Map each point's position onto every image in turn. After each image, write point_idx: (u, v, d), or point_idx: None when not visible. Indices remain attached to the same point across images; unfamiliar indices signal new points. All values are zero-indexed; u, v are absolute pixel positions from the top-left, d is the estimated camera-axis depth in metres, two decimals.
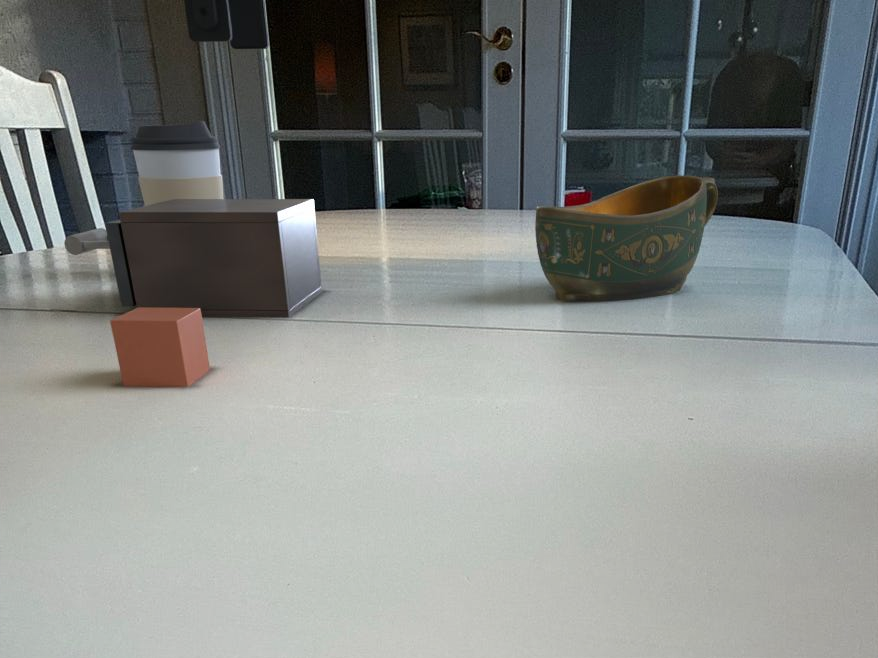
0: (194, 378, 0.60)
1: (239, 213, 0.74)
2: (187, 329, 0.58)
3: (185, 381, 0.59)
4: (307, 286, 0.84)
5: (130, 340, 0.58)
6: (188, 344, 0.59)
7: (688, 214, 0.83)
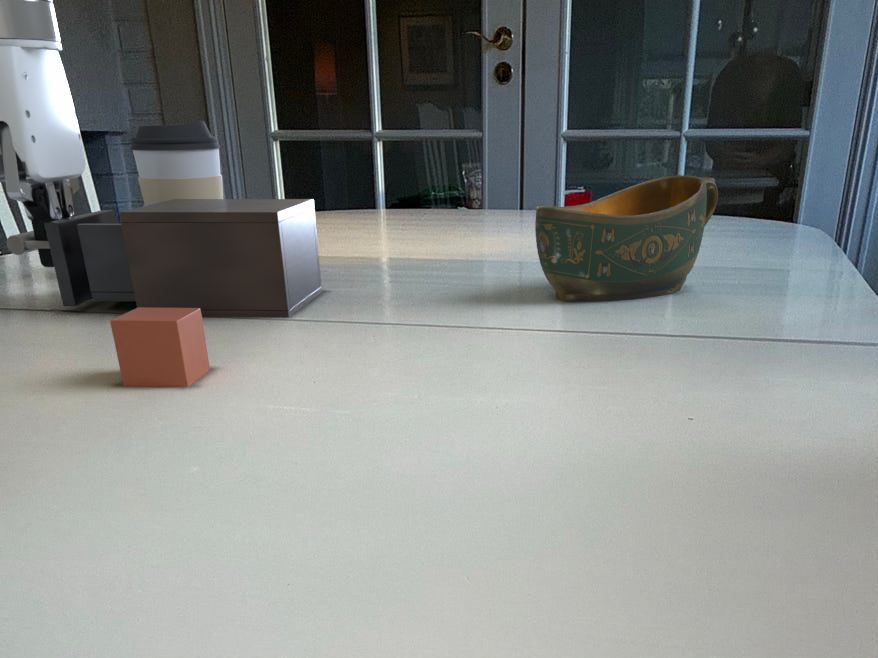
0: (194, 378, 0.60)
1: (239, 213, 0.74)
2: (187, 329, 0.58)
3: (185, 381, 0.59)
4: (307, 286, 0.84)
5: (130, 340, 0.58)
6: (188, 344, 0.59)
7: (688, 214, 0.83)
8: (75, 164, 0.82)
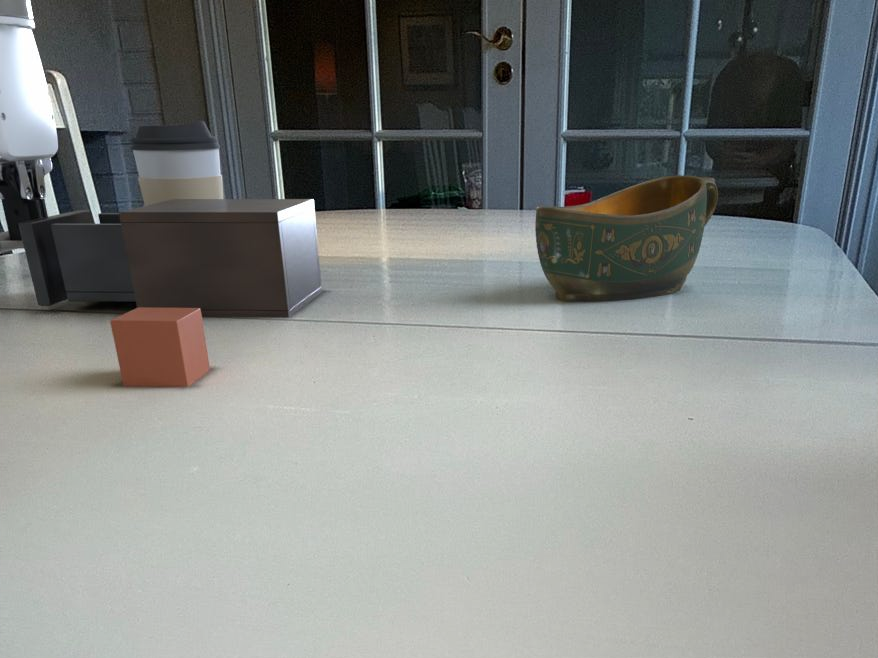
0: (194, 378, 0.60)
1: (239, 213, 0.74)
2: (187, 329, 0.58)
3: (185, 381, 0.59)
4: (307, 286, 0.84)
5: (130, 340, 0.58)
6: (188, 344, 0.59)
7: (688, 214, 0.83)
8: (47, 144, 0.81)
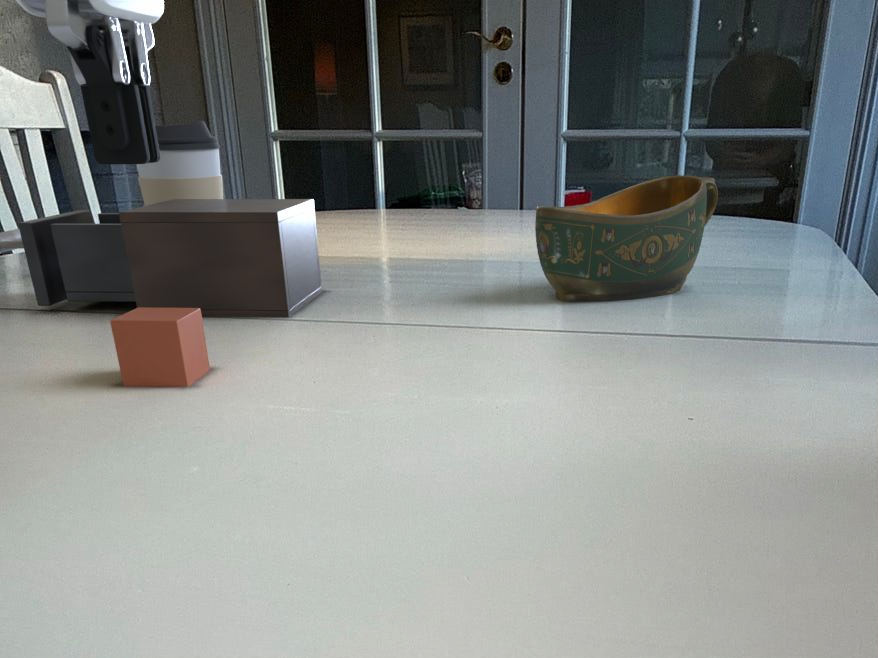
0: (194, 378, 0.60)
1: (239, 213, 0.74)
2: (187, 329, 0.58)
3: (185, 381, 0.59)
4: (307, 286, 0.84)
5: (130, 340, 0.58)
6: (188, 344, 0.59)
7: (688, 214, 0.83)
8: None
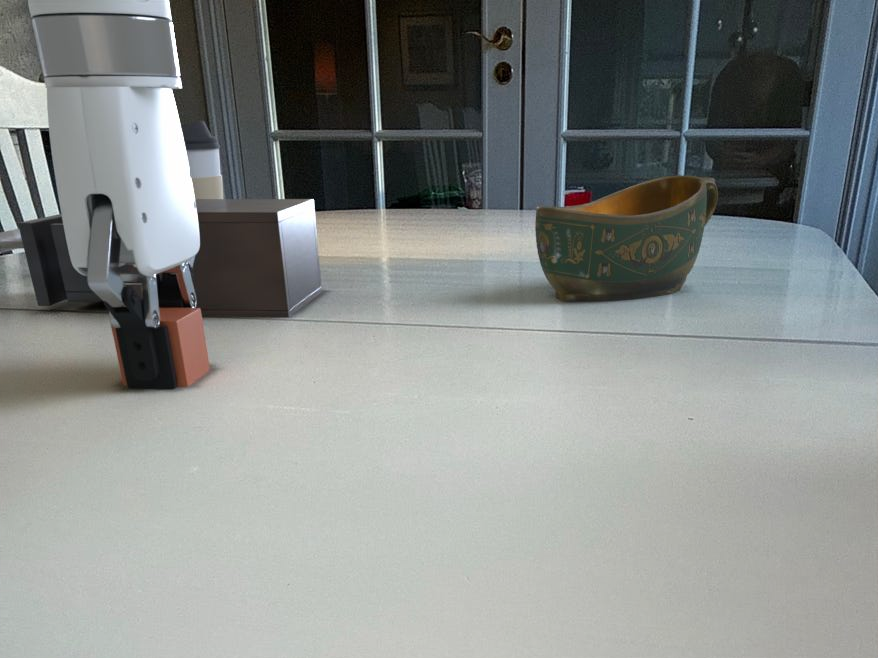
0: (194, 378, 0.60)
1: (239, 213, 0.74)
2: (187, 329, 0.58)
3: (185, 381, 0.59)
4: (307, 286, 0.84)
5: None
6: (188, 344, 0.59)
7: (688, 214, 0.83)
8: (190, 243, 0.59)
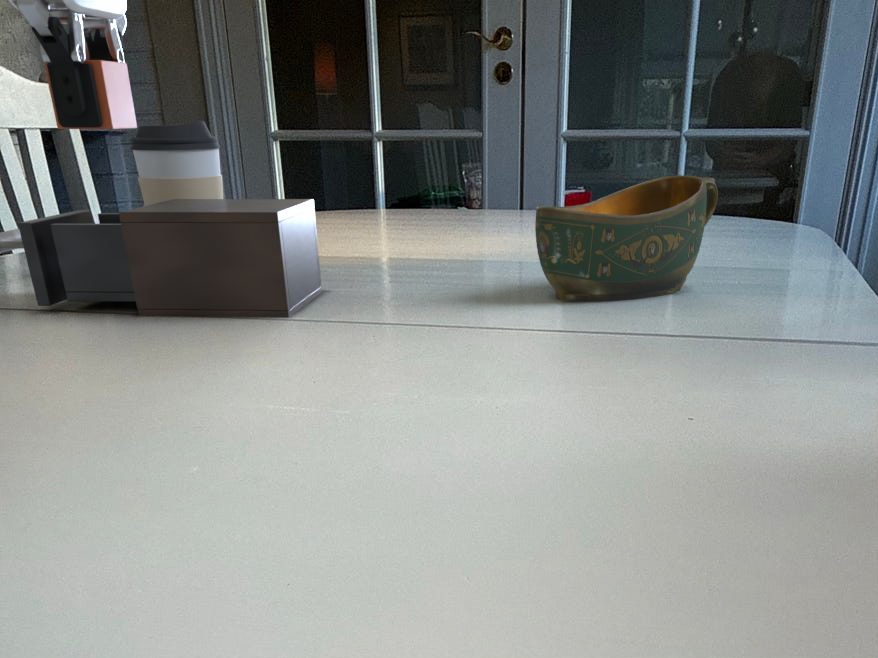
0: (119, 122, 0.69)
1: (239, 213, 0.74)
2: (112, 74, 0.67)
3: (110, 120, 0.67)
4: (307, 286, 0.84)
5: None
6: (113, 87, 0.67)
7: (688, 214, 0.83)
8: (115, 0, 0.67)
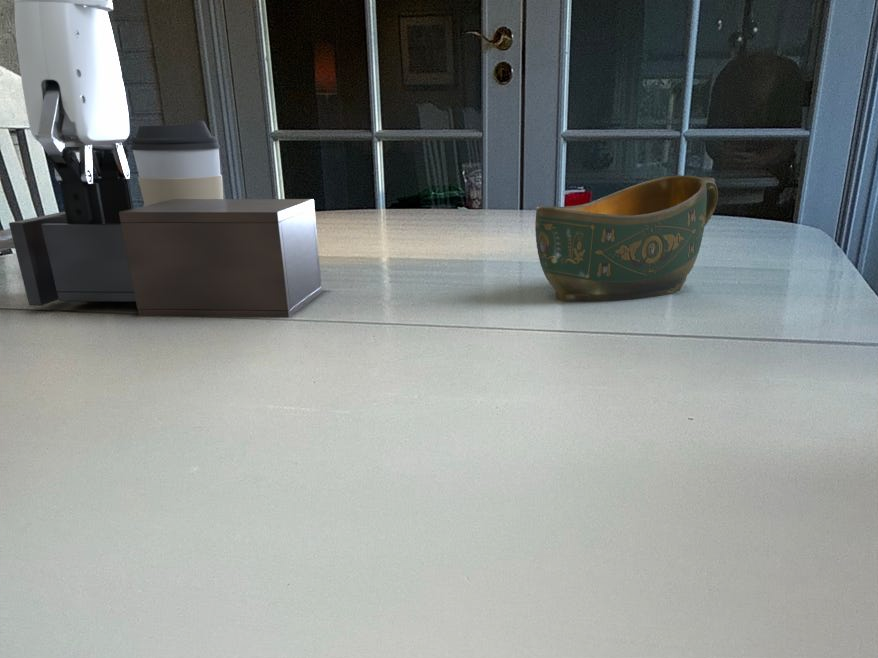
0: None
1: (239, 213, 0.74)
2: None
3: None
4: (307, 286, 0.84)
5: None
6: None
7: (688, 214, 0.83)
8: (121, 128, 0.80)
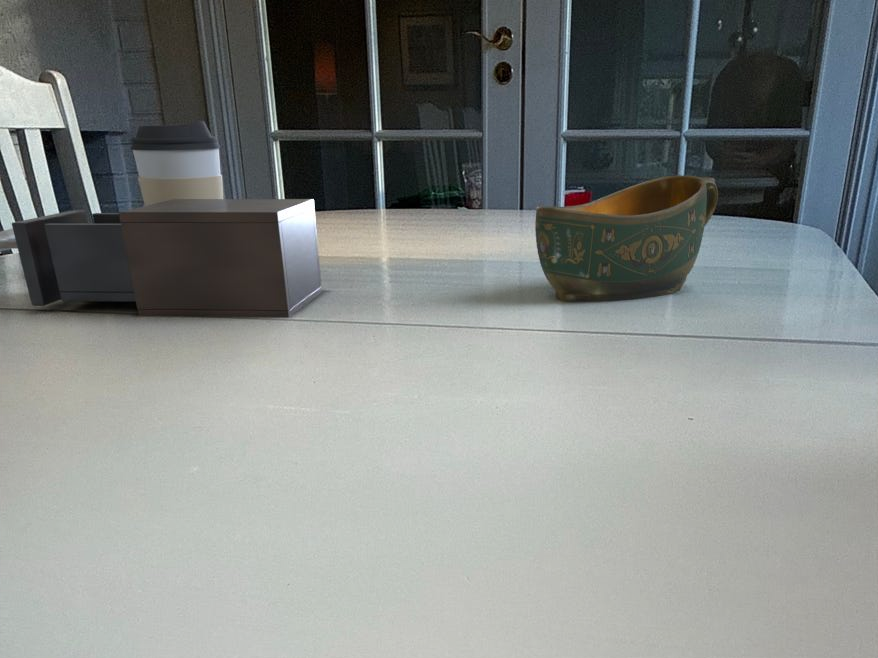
0: None
1: (239, 213, 0.74)
2: None
3: None
4: (307, 286, 0.84)
5: None
6: None
7: (688, 214, 0.83)
8: None
